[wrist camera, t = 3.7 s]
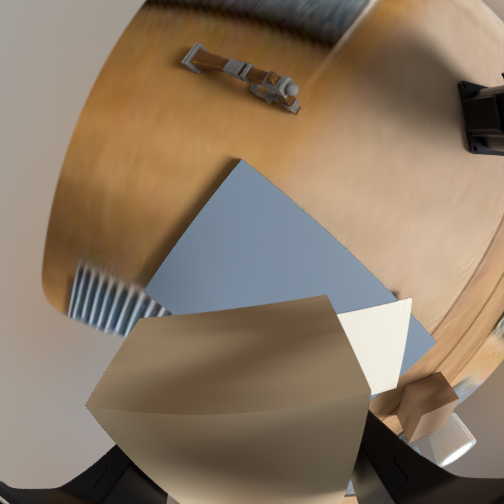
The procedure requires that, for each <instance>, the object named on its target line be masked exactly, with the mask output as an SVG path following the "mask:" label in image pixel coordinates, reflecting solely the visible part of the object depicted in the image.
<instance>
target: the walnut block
mask: <svg viewBox="0 0 504 504" xmlns="http://www.w3.org/2000/svg"><path fill="white" fill-rule="evenodd" d="M458 400H459V398H458V396H457V395H456V393H455V392H454V390H453V389H452V387H451V386H450V384H449V383H448V382H447V380H446V379H445V377H444V376H443V374H442V373H441V372H439V373H436V374H434V375H431V376H429V377H426V378H424V379H421V380H418V381H415V382H413V383H410V384H407V385H406V386H405V389H404V393H403V396H402V400H401V403H400V406H399V409H398V412H397V417H398V419H399V421H400V424H401V426H402V428H403V430H404V433H405V435H406V437H407V440H408V442H409V443H411V442H413V441H415V440H418V439H420V438H423V437H425V436H428V435H430V434H432V433H434V432H437V431H439V430H441V429H443V428H444V426H445V424H446V423H447V421H448V419H449V417H450V415H451V413H452V412H453V409H454V408H455V406H456V404H457V402H458Z"/></svg>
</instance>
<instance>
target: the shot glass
mask: <svg viewBox="0 0 504 504" xmlns="http://www.w3.org/2000/svg"><path fill="white" fill-rule="evenodd" d="M428 438H429V440H430V443H431V446H432V449H433V452H434V455H435V459H436V462H437V465H438V466H439V467H443V466H446V465H448V464H450V463H452V462H454V461H455V460H457V459H458V458H460V457H461V456H462V455H464V454H465V453H466V452H467V451H468V450H470V449H471V448H472V446H473V445H474V444H475V442H476V440H475V438H474V437H473V436H472V434H471V433H470V432H469V430H468V429H467V428H466V426H465V425H464V424H463V422H462V421H461V420H460V418H459V417H458V416H457V415H456V414H455V413H451V415H450V417H449V419H448V421H447V423H446V424H445V426H444V428H443V429H441V430H439V431H437V432H434V433H432V434H430V435H428Z"/></svg>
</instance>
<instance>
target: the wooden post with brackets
mask: <svg viewBox="0 0 504 504" xmlns="http://www.w3.org/2000/svg"><path fill="white" fill-rule="evenodd" d="M182 63H183V64H184V65H185V66H187V67H188V68H189V69H191V70H192V71H193V72H194V73H199V74H200V72H201V71H202V69H208V70H215V71H221V72H225V73H227V74H228V75H229V76H230V77H235V78H238V79H240V80H242V81H244V80H245V82H246V83H250V84H251V82H254V83H257V84H252V85H251V88H250V89H251V91H252V92H253V93H254V94H255V96H256V97H261V98H263V99H266V101H267V102H268V103H269V104H271V102H272V101H273V100H275V101H276V102H277V103H278V102H279V101H280V100H281V103H282V104H283V105H284V107H285V108H286V109H287V110H289V112H290V113H293V114H295V115H297V113H298V112H299V110H300V109H301V107H300V105H299V102H298V100H297V99H296V98H294V95H297V94H298V92H299V88H298V86H297V85H296V84H294V83H293V82H292V80H291V79H290V77H285V76H282V75H280V74H277V73H274V72H273V71H271V70H270V72H269V73H268V72H265V71H263V70H260V69H257V68H255V66H254V65H253V64H250V63H249V64H247V63H246V62H242V61H238V60H235V59H233V58H231V59H230V60H229V59H225V58H222V57H220V56H217V55H215V54H212V53H210V52H209V51H208V50H207V49H206V48H205V47H204V46H203V45H202V44H199V43H197V42H196V43H195V44H194V46H193V47H192V48H191V50H190V51H189V52H188V54H187V55H186V56H185V58H184V59H183V61H182ZM282 101H283V102H282Z"/></svg>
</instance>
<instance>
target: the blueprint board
mask: <svg viewBox="0 0 504 504" xmlns="http://www.w3.org/2000/svg"><path fill="white" fill-rule="evenodd" d="M143 292H144V293H145V294H147V295H148V296H149V297H151V298H152V299H153V300H155V301H156V302H157V303H159V304H160V305H161V306H163V307H164V308H165V309H167V310H168V311H170V312H171V313H172V314H174V315H182V314H192V313H201V312H210V311H218V310H226V309H234V308H242V307H249V306H256V305H263V304H270V303H277V302H283V301H290V300H296V299H302V298H308V297H314V296H320V295H325V294H327V296H328V298H329V300H330V302H331V304H332V306H333V308H334V310H335V312H336V314H337V316H338V318H339V320H340V322H341V325H342V327H343V329H344V331H345V333H346V335H347V337H348V339H349V342H350V344H351V346H352V348H353V350H354V352H355V355H356V357H357V359H358V361H359V363H360V366H361V368H362V370H363V372H364V375H365V377H366V379H367V382H368V384H369V386H370V388H371V391H372V392H371V398H370V400H372V399H373V398H374V397H376V396H377V395H378V394H380V393H381V392H385V391H388V390H391V389H394V388H396V387H397V383H398V378H399V377H400V376H401V375H403V374H404V373H405V372H406V371H407V370H408V369H409V368H410V367H411V366H413V365H414V364H415V363H416V362H417V361H418V360H419V359H420V358H421V357H422V356H423V355H424V354H425V353H426V352H427V351H428V350H429V349H430V348H431V347H432V346H433V345H434V344H435V343H436V341H435V340H434V339H433V337H432V336H431V335H430V334H429V333H428V332H427V331H426V329H425V328H424V327H423V326H422V325H421V324H420V323H419V322H418V321H417V320H416V319H415V317H414V316H413V315H412V314H411V313H410V312H411V303H412V297H410V298H406V299H402V300H398V299H397V298H396V297H395V296H394V295H393V294H392V293H391V292H390V291H389V290H388V289H387V288H386V287H385V286H384V285H383V284H382V283H381V282H380V281H379V280H378V279H377V278H376V277H375V276H374V275H373V274H372V273H371V272H370V271H369V270H368V269H367V268H366V267H365V266H364V265H363V264H362V263H361V262H360V261H359V260H358V259H357V258H356V257H355V256H354V255H352V254H351V253H350V252H349V251H348V250H347V249H346V248H345V247H344V246H343V245H342V244H341V243H340V242H339V241H338V240H337V239H335V238H334V237H333V236H332V235H331V234H330V233H329V232H328V231H327V230H326V229H325V228H323V227H322V226H321V225H320V224H319V223H318V222H317V221H316V220H315V219H313V218H312V217H311V216H310V215H309V214H308V213H307V212H305V211H304V210H303V209H302V208H301V207H300V206H299V205H297V204H296V203H295V202H294V201H293V200H292V199H290V198H289V197H288V196H287V195H286V194H285V193H283V192H282V191H281V190H280V189H279V188H277V187H276V186H275V185H274V184H273V183H271V182H270V181H269V180H268V179H267V178H265V177H264V176H263V175H262V174H260V173H259V172H258V171H257V170H256V169H254V168H253V167H252V166H251V165H249V164H248V163H247V162H246V161H244V160H243V159H242V160H241V161H240V162H239V163H238V165H237V166H236V167H235V168H234V169H233V171H232V172H231V173H230V174H229V176H228V177H227V178H226V179H225V181H224V182H223V183H222V184H221V186H220V187H219V188H218V189H217V191H216V192H215V193H214V194H213V196H212V197H211V198H210V200H209V201H208V202H207V203H206V205H205V206H204V207H203V209H202V210H201V211H200V213H199V214H198V215H197V216H196V218H195V219H194V220H193V222H192V223H191V224H190V226H189V227H188V228H187V230H186V231H185V233H184V234H183V235H182V237H181V238H180V239H179V241H178V242H177V243H176V245H175V246H174V248H173V249H172V250H171V252H170V253H169V255H168V256H167V257H166V259H165V260H164V262H163V263H162V265H161V266H160V267H159V269H158V270H157V272H156V273H155V275H154V276H153V278H152V279H151V281H150V282H149V283H148V285H147V286H146V288H145V289H144V291H143Z"/></svg>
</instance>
